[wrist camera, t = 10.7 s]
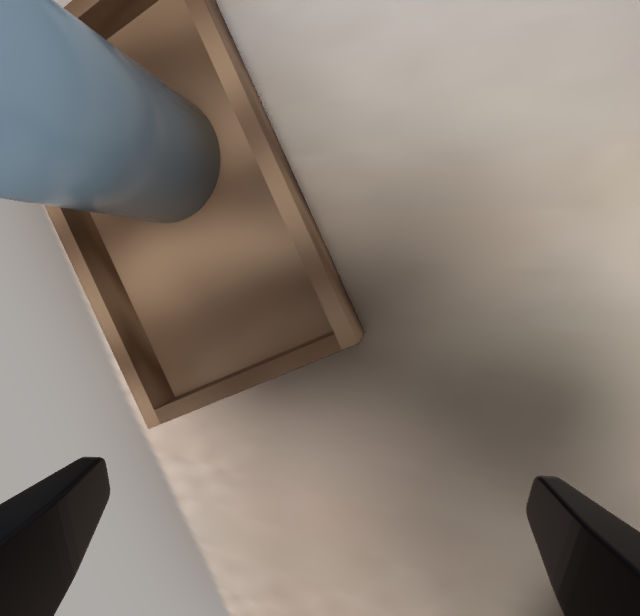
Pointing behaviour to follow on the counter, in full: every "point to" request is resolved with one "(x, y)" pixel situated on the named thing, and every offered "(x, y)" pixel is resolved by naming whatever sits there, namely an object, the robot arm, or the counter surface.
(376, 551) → the counter surface
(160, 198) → the cup
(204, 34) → the tray
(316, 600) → the counter surface
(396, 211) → the counter surface
